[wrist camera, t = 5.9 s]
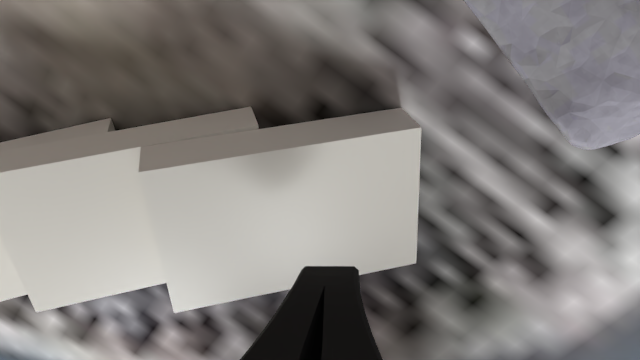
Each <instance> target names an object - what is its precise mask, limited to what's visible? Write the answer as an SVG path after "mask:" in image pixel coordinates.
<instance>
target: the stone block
mask: <svg viewBox="0 0 640 360" xmlns="http://www.w3.org/2000/svg"><path fill="white" fill-rule="evenodd" d="M464 1H465V3H466V4H467V5H468V6H469V8H470V9H471V10H472V11H473V13H474V14H475V15H476V17H477V18H478V19H479V21H480V22H481V23H482V25H483V26H484V27H485V29H486V30H487V31H488V33H489V34H490V35H491V37H492V38H493V40H494V41H495V42H496V44H497V45H498V47H499V48H500V49H501V51H502V52H503V54H504V55H505V56H506V58H507V59H508V60H509V61H510V63H511V64H512V65H513V67H514V68H515V69H516V71H517V72H518V73H519V75H520V76H521V77H522V79H523V80H524V81H525V83H526V84H527V86H528V87H529V88H530V90H531V91H532V93H533V95H534V96H535V98H536V99H537V101H538V102H539V104H540V105H541V107H542V108H543V110H544V111H545V112H546V114H547V115H548V117H549V118H550V119H551V120H552V121H553V122H554V123H555V125H556V126H557V128H558V129H559V130H560V132H561V133H562V135H563V136H564V137H565V138H566V139H567V140H568V141H569V143H571V144H572V145H573V146H576V147H579V148H582V149H585V150H590V149H596V148H601V147H605V146H608V145H611V144H615V143H618V142H621V141H625V140H628V139H631V138H633V137H635V136H637V135H639V134H640V0H464Z"/></svg>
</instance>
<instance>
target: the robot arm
mask: <svg viewBox="0 0 640 360" xmlns="http://www.w3.org/2000/svg"><path fill="white" fill-rule="evenodd" d="M240 360H383V359H382V357H381V355H380V352H379V350H378V347H377V345H376V343H375V340H374V337H373V335H372V332H371V329H370V326H369V323H368V320H367V317H366V314H365V311H364V307H363V303H362V299H361V294H360V282H359V270H358V269H357V268H356V267H354V266H305V267H304V268H303V269H302V270H301V272H300V273H299V275H298V277H297V279H296V281H295V283H294V284H293V286H292V288H291V290H290V291H289V293H288V295H287V296H286V298H285V299H284V301H283V303H282V304H281V306H280V307H279V309H278V310H277V311H276V313H275V314H274V316H273V317H272V319H271V320H270V322H269V323H268V325H267V326H266V327H265V329H264V330H263V331H262V333H261V334H260V335H259V337H258V338H257V339H256V340H255V342H254V343H253V344H252V346H251V347H250V348H249V350H248V351H247V352H246V353H245V354H244V356H243V357H242V358H241V359H240Z"/></svg>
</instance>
